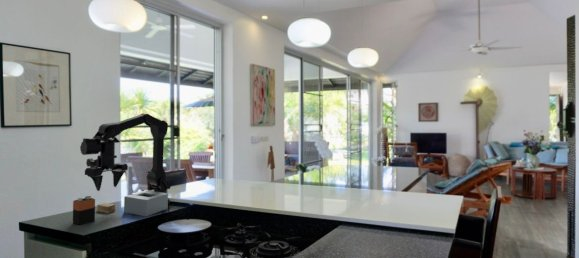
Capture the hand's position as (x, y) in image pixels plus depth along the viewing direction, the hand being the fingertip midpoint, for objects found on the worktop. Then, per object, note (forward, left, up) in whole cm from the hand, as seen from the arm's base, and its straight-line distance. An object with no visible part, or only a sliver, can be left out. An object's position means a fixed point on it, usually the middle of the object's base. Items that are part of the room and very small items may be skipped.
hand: (106, 188), depth 169 cm
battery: (+16, +5, -10) cm, 20 cm away
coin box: (-9, +14, -10) cm, 19 cm away
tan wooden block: (0, 0, -10) cm, 10 cm away
